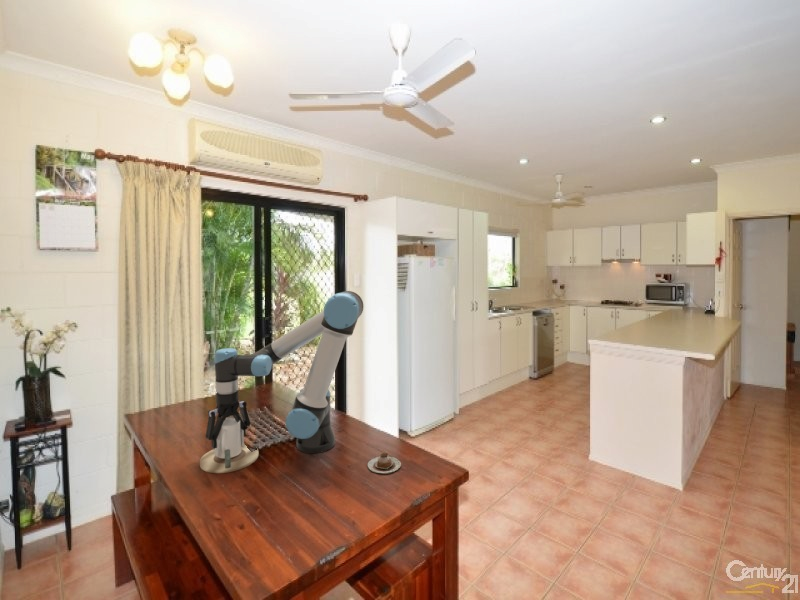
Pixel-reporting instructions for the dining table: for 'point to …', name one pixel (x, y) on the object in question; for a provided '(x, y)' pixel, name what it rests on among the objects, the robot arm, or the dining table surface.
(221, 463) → the cream saucer dish
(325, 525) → the dining table surface
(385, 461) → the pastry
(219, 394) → the robot arm
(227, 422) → the mug
